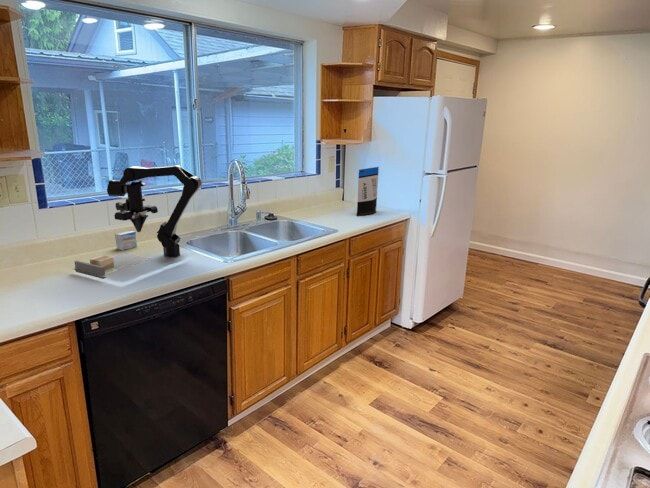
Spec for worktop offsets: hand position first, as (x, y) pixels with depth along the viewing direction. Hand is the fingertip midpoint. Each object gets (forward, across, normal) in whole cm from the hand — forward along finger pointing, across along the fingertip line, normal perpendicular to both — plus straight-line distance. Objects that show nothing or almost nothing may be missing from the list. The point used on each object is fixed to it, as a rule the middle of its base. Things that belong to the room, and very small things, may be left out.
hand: (138, 231), depth 193 cm
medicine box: (+12, -5, -14) cm, 19 cm away
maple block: (+10, +20, 0) cm, 22 cm away
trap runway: (+12, +14, -1) cm, 18 cm away
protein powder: (+13, -140, +56) cm, 151 cm away
